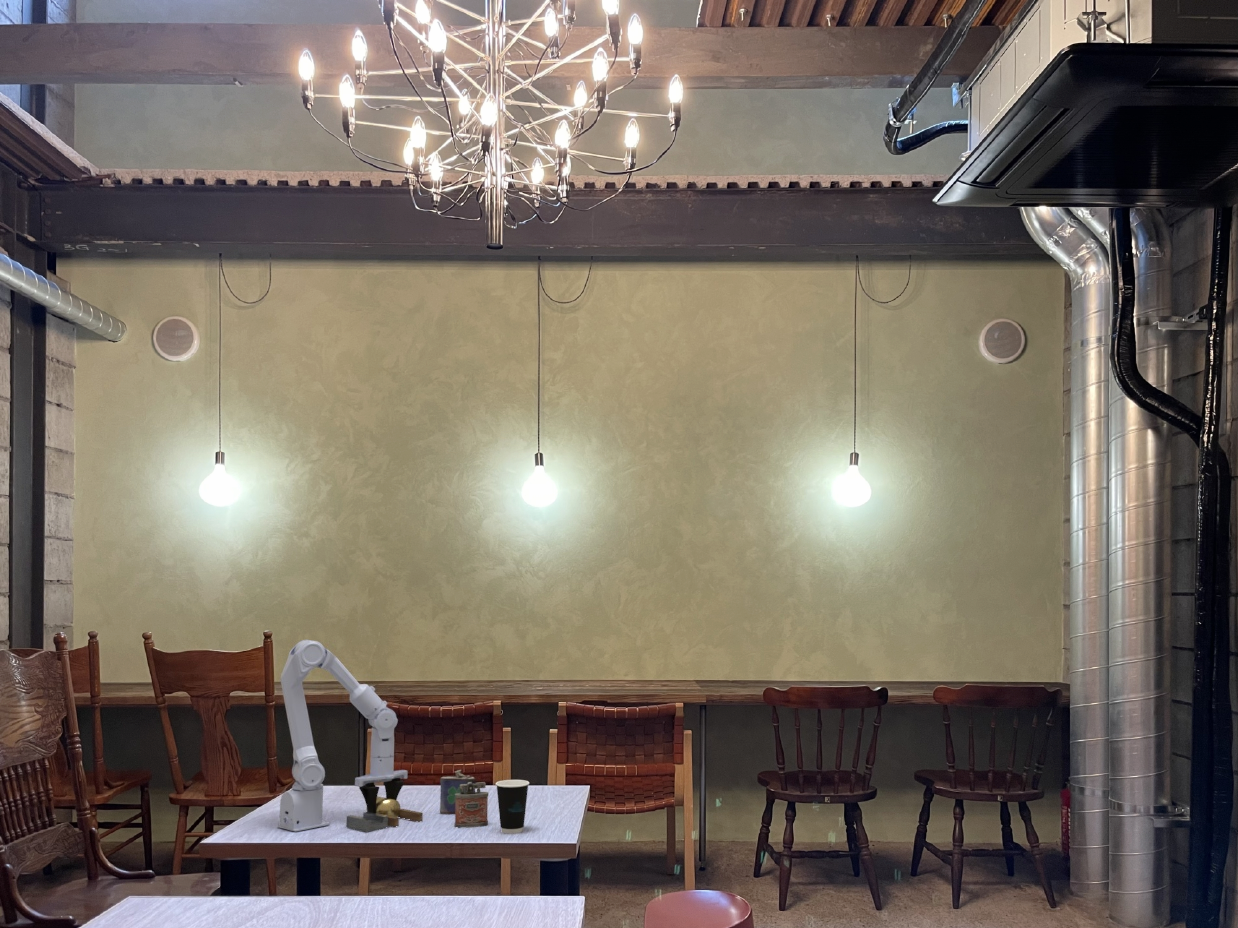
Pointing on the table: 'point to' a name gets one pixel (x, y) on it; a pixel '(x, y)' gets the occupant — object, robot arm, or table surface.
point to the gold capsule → (387, 807)
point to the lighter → (471, 806)
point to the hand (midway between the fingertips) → (380, 812)
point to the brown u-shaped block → (407, 815)
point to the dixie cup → (512, 804)
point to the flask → (452, 791)
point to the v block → (367, 822)
